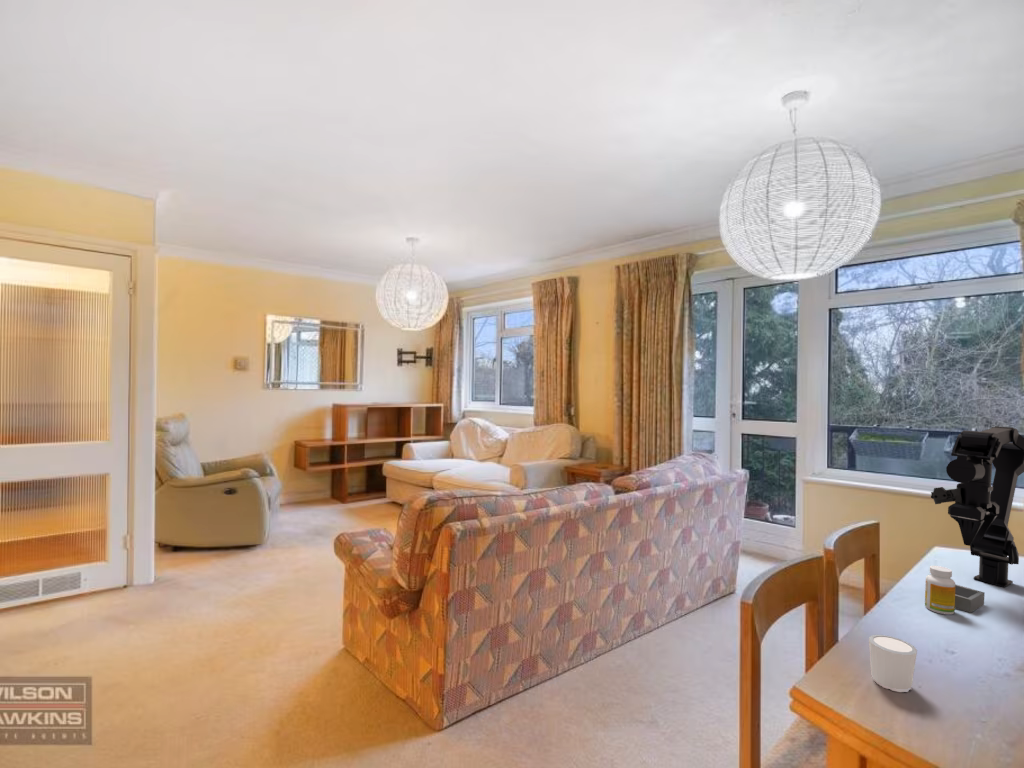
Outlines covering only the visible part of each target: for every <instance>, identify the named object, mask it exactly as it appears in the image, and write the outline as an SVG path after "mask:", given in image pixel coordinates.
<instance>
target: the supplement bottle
mask: <svg viewBox="0 0 1024 768" xmlns="http://www.w3.org/2000/svg"><path fill="white" fill-rule="evenodd" d="M929 573H930V574H928V575H926V577H925V585H924V586H925V587H924V588H925V590H924V591H925V592H924V606H925V609H927V610H930V611H932V612H934V613H938V614H941V615H954V614H955V611H956V610H955V609H956V608H955V584H956V582H955V580H954V579H953V578H952V577H953V570H952V569H950V568H949V567H945V566H940V565H930V566H929Z"/></svg>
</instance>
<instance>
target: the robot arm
mask: <svg viewBox="0 0 1024 768" xmlns="http://www.w3.org/2000/svg"><path fill="white" fill-rule="evenodd" d="M950 456H951V457H956V459H953V460H951V461H950V462H948V463H947V465H946V470H945V471H946V474H947V476H948V477H949V478H950V479H951V480H953V482H956V488H950V489H946V488H945V487H943V486H941V487H934V488H933V490H932V491H931V492H930V498H931V499H933V502H934V504H935V505H940V504H943V503H952V502H954V503H952V504H950V505H949V506H947V507H948V508H947V515H949V517H951V519H953V520H954V521H956V522H957V524H958V527H959V530H960V534H961V537H962V541H963V545H965V546H968V547H969V548H970V556H975V557H979V559H978V560H979V562H978V564H979V565H978V566H979V567H978V574H977V575H975V576H973V580H976V581H979V582H984V583H988V584H991V585H995V586H999V587H1003V588H1007V587H1009V586H1010V585H1012V584H1014V583H1013V582H1014V581H1013V580H1011V579H1009V565H1011V566H1012V565H1019V564H1020V561H1019V560H1020V557H1019V556H1020V555H1019V554H1020V553H1019V551H1018V548H1017V545H1016V543H1015V541H1014V540H1015V538H1014V535H1013V534H1012V532H1011V530H1010V529H1009V521H1010V516H1011V512H1012V506H1013V502H1014V497H1015V492H1016V487H1017V482H1018V478H1019V476H1021V474H1023V473H1024V436H1022V435H1021V434H1020V433H1019V431H1018V429H1017V428H1014V427H1009V426H997V425H996V426H991V427H990V428H988V429H985V430H982V431H979V430H978V431H977V430H968V429H967V430H966V429H965V430H962V431H961V432H960V433H959V434H958V435H957V437H956V439H955V443H954V446H953V448H952V451H951V455H950ZM993 466H994V468H995V471H994V477H993V481H992V473H993V472H992V471H993ZM1011 583H1012V584H1011ZM1006 586H1007V587H1006Z"/></svg>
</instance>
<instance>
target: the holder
mask: <svg viewBox="0 0 1024 768" xmlns="http://www.w3.org/2000/svg"><path fill="white" fill-rule="evenodd" d="M983 606H985V592H984V591H981V590H977V589H973V588H970V587H967V586H963V585H960V584H956V583H955V609H957V610H959V611H963V612H966V613H969V614H970V613H973V612H974V611H976V610H978V609H979V608H982V607H983Z"/></svg>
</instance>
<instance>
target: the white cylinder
mask: <svg viewBox="0 0 1024 768" xmlns="http://www.w3.org/2000/svg"><path fill="white" fill-rule="evenodd" d="M868 646H869V647H868V649H869V663H870V672H871V673H870V674H871V675H872V677H873V679H875V680H876V681H877V682H879V683H881V684H883V685H884V686H888V687H890V688H896V689H908V688H911V686H912V687H913V678H914V672H915V666H916V660H917V656H918V655H917V654H918V650H917V647H915V645H912V644H911V643H910V642H907V641H906V640H903V639H901V638H897V637H895V636H890V635H884V634H873V635H870V636H869V637H868ZM872 677H871V678H872ZM911 689H912V688H911Z"/></svg>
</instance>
